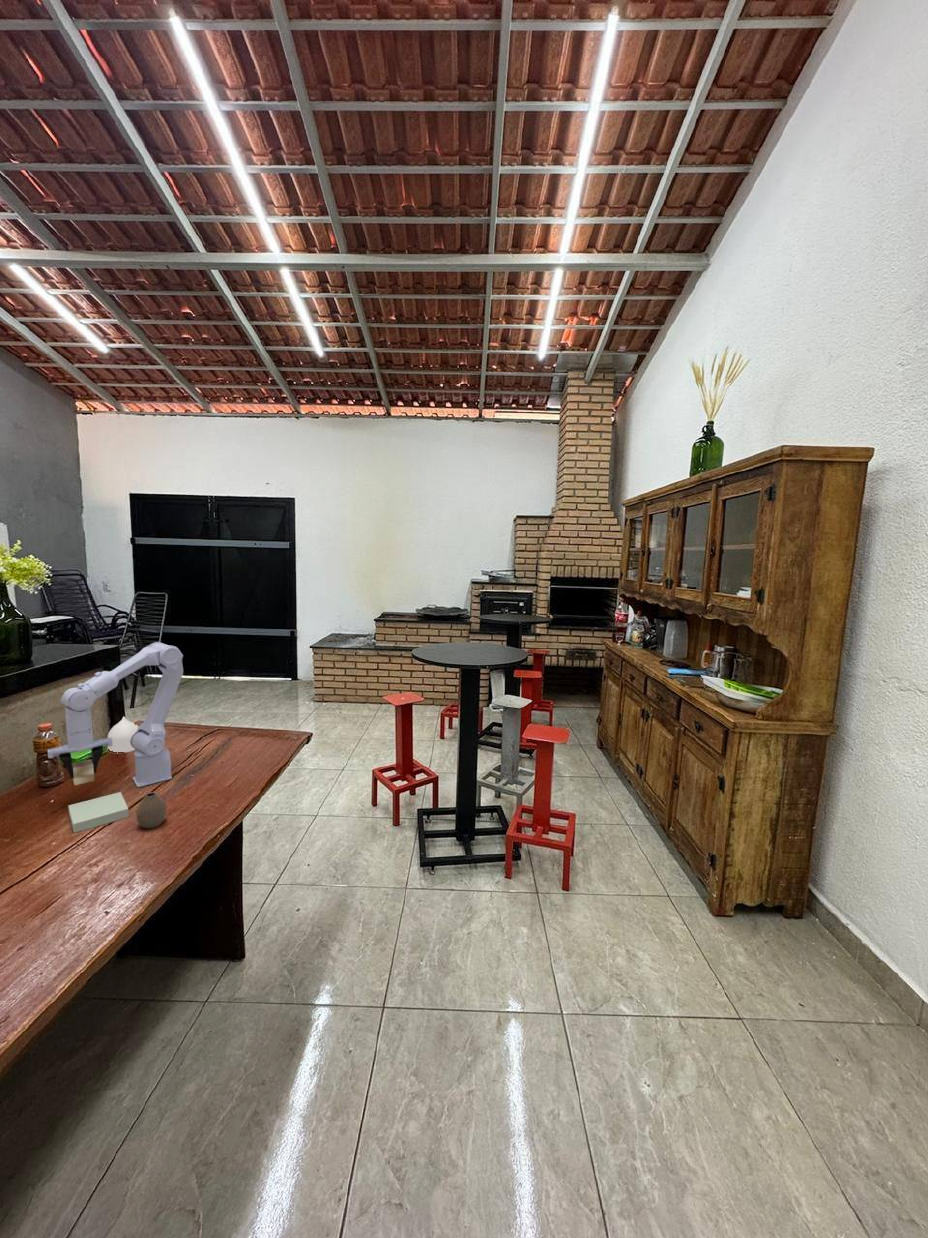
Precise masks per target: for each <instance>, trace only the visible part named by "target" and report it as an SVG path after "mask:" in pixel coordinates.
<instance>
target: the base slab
mask: <svg viewBox="0 0 928 1238" xmlns="http://www.w3.org/2000/svg"><path fill="white" fill-rule="evenodd" d="M67 806H68V807H67V808H68V815H69V820H70V823H71V827H72V831H73V834H75V833H79V832H82V831H86V830H89V829H92V828H96V827H100V826H103V825H106V824H109V823H113V822H116V821H120V820H124V819H127V818H129V817H130V814H129V813H130V812H129V807H128V805H127V803H126V799H124V796H123V794H122V792H121V791H119V792H116V793H115V792H114V793H112V794H108V795H104V796H99V797H96V798H92V799H89V800H84V801H80V802H76V803H73V804H69V805H67Z"/></svg>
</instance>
